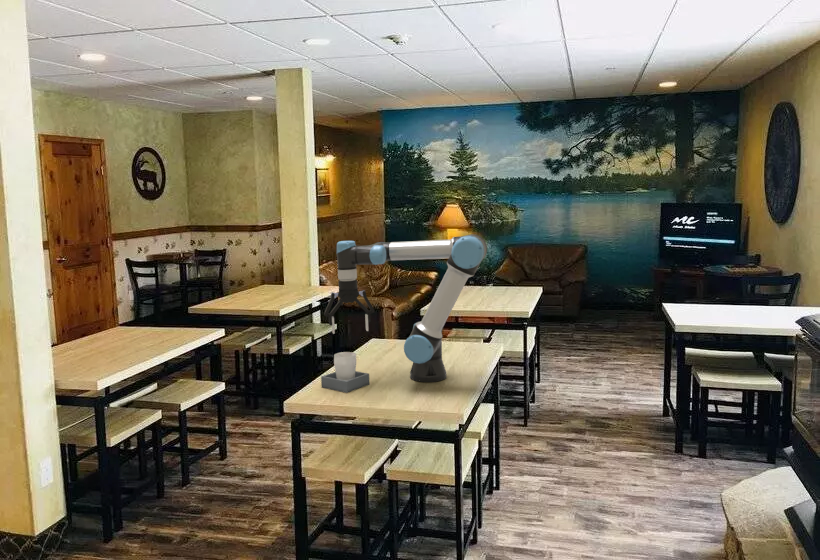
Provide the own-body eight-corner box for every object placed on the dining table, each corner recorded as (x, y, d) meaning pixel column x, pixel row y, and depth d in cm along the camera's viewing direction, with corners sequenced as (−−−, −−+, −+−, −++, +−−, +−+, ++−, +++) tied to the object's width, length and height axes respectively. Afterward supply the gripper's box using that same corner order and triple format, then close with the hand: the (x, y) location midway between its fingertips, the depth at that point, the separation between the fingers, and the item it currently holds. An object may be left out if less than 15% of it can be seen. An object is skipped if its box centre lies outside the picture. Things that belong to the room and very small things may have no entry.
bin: (369, 384, 273) (369, 373, 273) (346, 392, 263) (346, 381, 262) (344, 379, 282) (344, 368, 281) (321, 387, 271) (321, 376, 270)
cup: (344, 388, 266) (343, 358, 265) (330, 384, 272) (329, 354, 271) (361, 383, 273) (360, 354, 271) (347, 379, 279) (346, 350, 277)
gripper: (377, 276, 276) (379, 327, 278) (315, 280, 271) (318, 332, 274) (379, 278, 268) (382, 331, 271) (316, 282, 264) (319, 336, 267)
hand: (350, 331), depth 273 cm, fingers open, 13 cm apart
